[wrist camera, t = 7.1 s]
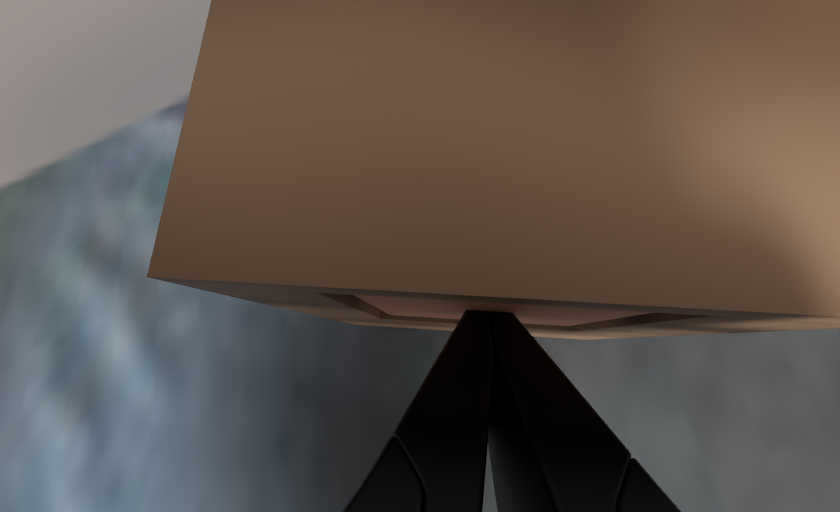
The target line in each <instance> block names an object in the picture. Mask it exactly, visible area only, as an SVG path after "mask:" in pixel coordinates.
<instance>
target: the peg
mask: <svg viewBox="0 0 840 512" xmlns="http://www.w3.org/2000/svg"><path fill="white" fill-rule="evenodd" d="M354 296H356V297H358V298H360V299H361V300H363V301H365V302H367V303H369V304H371V305H373V306H374V307H376V308H378V309H380V310H382V311H384V312H385V313H387V314H389V315H398V316H414V317H430V318H446V319H460V318H461V317H462V315H463V313H464V312H465V310H476V311H488V312H509V313H513V314H514V315H515V316H516V317H517V318H518V320H519V321H520V322H521V323H526V324H542V325H558V326H573V325H579V324H586V323H592V322H598V321H604V320H610V319H617V318H623V317H629V316H635V315H642V314H648V313H654V312H638V311H621V310H604V309H587V308H570V307H553V306H536V305H519V304H502V303H485V302H468V301H451V300H434V299H417V298H400V297H383V296H366V295H354Z"/></svg>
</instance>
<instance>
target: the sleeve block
mask: <svg viewBox="0 0 840 512" xmlns="http://www.w3.org/2000/svg"><path fill="white" fill-rule="evenodd" d="M147 277H149V278H154V279H158V280H162V281H167V282H171V283H175V284H180V285H184V286H189V287H193V288H197V289H202V290H206V291H210V292H215V293H219V294H223V295H228V296H232V297H236V298H241V299H245V300H250V301H254V302H258V303H263V304H267V305H271V306H276V307H280V308H284V309H289V310H293V311H297V312H302V313H306V314H310V315H315V316H319V317H324V318H328V319H332V320H337V321H341V322H345V323H350V324H354V325H368V326H383V327H398V328H414V329H429V330H444V331H453V330H454V329H455V327H456V325H457V324H458V322H459V320H460V319H446V318H430V317H414V316H398V315H389V314H387V313H385V312H384V311H382V310H380V309H378V308H376V307H374V306H373V305H371V304H369V303H367V302H365V301H363V300H361V299H360V298H358V297H356V296H354V295H366V296H383V297H400V298H417V299H434V300H451V301H468V302H485V303H502V304H519V305H536V306H553V307H570V308H587V309H604V310H621V311H638V312H654V313H648V314H642V315H635V316H629V317H623V318H617V319H610V320H604V321H598V322H592V323H586V324H579V325H573V326H558V325H542V324H526V323H522V324H523V326H524V327H525V328H526V329H527V330H528V332H529V333H530V334H531V335H532V336H536V337H551V338H566V339H581V340H588V339H611V338H633V337H655V336H678V335H700V334H722V333H745V332H767V331H789V330H811V329H834V328H840V0H212V1H211V5H210V10H209V14H208V18H207V22H206V27H205V31H204V35H203V39H202V44H201V48H200V53H199V56H198V61H197V65H196V69H195V74H194V78H193V82H192V86H191V91H190V95H189V99H188V103H187V108H186V112H185V116H184V121H183V125H182V129H181V133H180V138H179V142H178V146H177V151H176V155H175V159H174V163H173V168H172V172H171V176H170V180H169V185H168V189H167V193H166V198H165V202H164V206H163V210H162V215H161V219H160V223H159V227H158V232H157V236H156V240H155V245H154V249H153V253H152V257H151V262H150V266H149V270H148V275H147Z"/></svg>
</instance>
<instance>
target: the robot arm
mask: <svg viewBox="0 0 840 512" xmlns="http://www.w3.org/2000/svg"><path fill="white" fill-rule="evenodd" d="M487 444H488V445H489V452H490V459H491V467H492V474H493V481H494V488H495V496H496V503H497V510H498V512H681V511H680V510H679V509H678V508H677V506H676V505H675V504H674V503H673V502H672V501H671V500H670V498H669V497H668V496H667V495H666V494H665V493H664V492H663V490H662V489H661V488H660V487H659V486H658V485H657V484H656V482H655V481H654V480H653V479H652V478H651V477H650V475H649V474H648V473H647V472H646V471H645V469H644V468H643V467H642V466H641V465H640V463H639V462H638V461H637V460H636V459H635V458H632V459H631V453H630V452H629V451H628V449H627V448H626V447H625V446H624V445H623V444H622V442H621V441H620V440H619V439H618V438H617V436H616V435H615V434H614V433H613V432H612V430H611V429H610V428H609V427H608V426H607V424H606V423H605V422H604V421H603V420H602V418H601V417H600V416H599V415H598V414H597V413H596V411H595V410H594V409H593V408H592V407H591V405H590V404H589V403H588V402H587V401H586V399H585V398H584V397H583V396H582V395H581V393H580V392H579V391H578V390H577V389H576V388H575V386H574V385H573V384H572V383H571V382H570V380H569V379H568V378H567V377H566V376H565V374H564V373H563V372H562V371H561V370H560V368H559V367H558V366H557V365H556V364H555V363H554V361H553V360H552V359H551V358H550V357H549V355H548V354H547V353H546V352H545V351H544V349H543V348H542V347H541V346H540V345H539V343H538V342H537V341H536V340H535V339H534V337H533V336H532V335H531V334H530V333H529V332H528V330H527V329H526V328H525V327H524V326H523V324H522V323H521V322H520V321H519V320H518V318H517V317H516V316H515V315H514V314H513V313H509V312H488V311H476V310H465V312H464V313H463V315H462V317H461V318H460V320H459V322H458V324H457V325H456V327H455V329H454V330H453V332H452V334H451V335H450V337H449V339H448V341H447V342H446V344H445V346H444V347H443V349H442V351H441V352H440V354H439V356H438V358H437V359H436V361H435V363H434V364H433V366H432V368H431V369H430V371H429V373H428V375H427V376H426V378H425V380H424V381H423V383H422V385H421V386H420V388H419V390H418V392H417V393H416V395H415V397H414V398H413V400H412V402H411V403H410V405H409V407H408V409H407V410H406V412H405V414H404V415H403V417H402V419H401V420H400V422H399V424H398V426H397V427H396V429H395V431H394V432H393V436H392V437H390V439H389V440H388V442H387V444H386V445H385V447H384V449H383V450H382V452H381V454H380V456H379V457H378V459H377V460H376V462H375V464H374V465H373V467H372V468H371V470H370V471H369V473H368V475H367V476H366V478H365V479H364V481H363V482H362V484H361V486H360V487H359V489H358V490H357V491H356V493H355V494H354V496H353V497H352V498H351V500H350V501H349V503H348V504H347V505H346V507H345V508H344V510H343V511H342V512H482V506H483V494H484V481H485V469H486V456H487Z"/></svg>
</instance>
